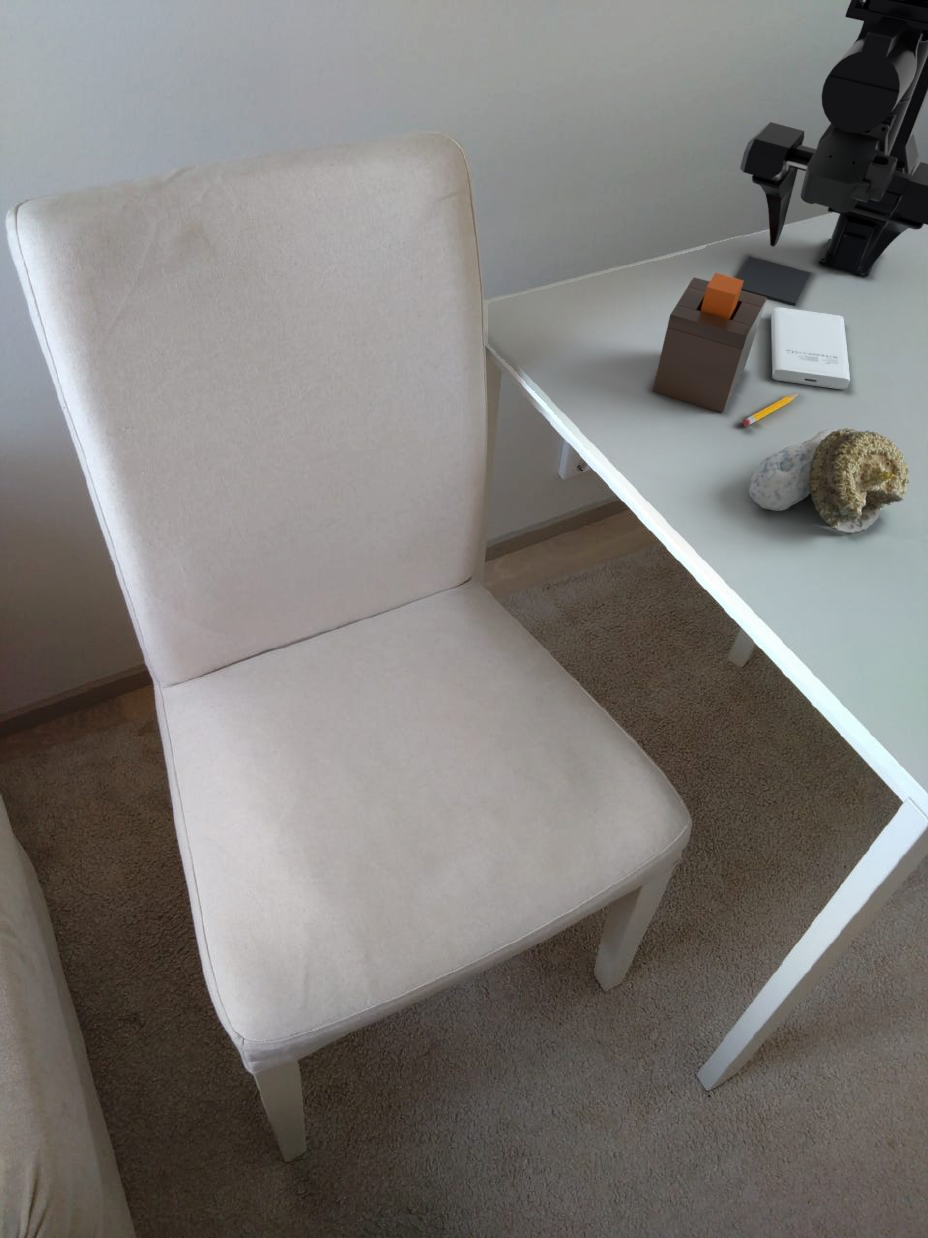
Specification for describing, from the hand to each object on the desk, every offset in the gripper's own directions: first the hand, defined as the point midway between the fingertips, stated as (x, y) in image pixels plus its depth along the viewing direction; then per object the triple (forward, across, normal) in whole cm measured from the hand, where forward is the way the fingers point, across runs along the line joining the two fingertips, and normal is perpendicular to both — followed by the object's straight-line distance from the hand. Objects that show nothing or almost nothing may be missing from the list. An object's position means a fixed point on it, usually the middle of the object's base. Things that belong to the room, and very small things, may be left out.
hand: (817, 258), depth 91 cm
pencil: (+14, +2, -6) cm, 16 cm away
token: (+6, -7, -5) cm, 11 cm away
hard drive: (+15, +1, +7) cm, 16 cm away
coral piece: (+12, +12, -16) cm, 23 cm away
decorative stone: (+15, +13, -15) cm, 25 cm away
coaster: (+14, -7, +19) cm, 25 cm away
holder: (+14, -7, -5) cm, 17 cm away
